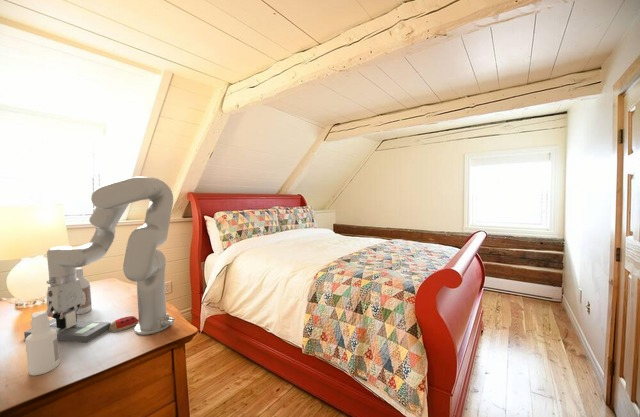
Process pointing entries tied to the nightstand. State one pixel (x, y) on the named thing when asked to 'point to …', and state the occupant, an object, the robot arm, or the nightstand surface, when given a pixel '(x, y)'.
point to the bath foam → (84, 292)
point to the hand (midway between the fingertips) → (67, 324)
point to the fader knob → (69, 318)
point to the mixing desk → (78, 331)
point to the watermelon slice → (123, 323)
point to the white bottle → (41, 345)
